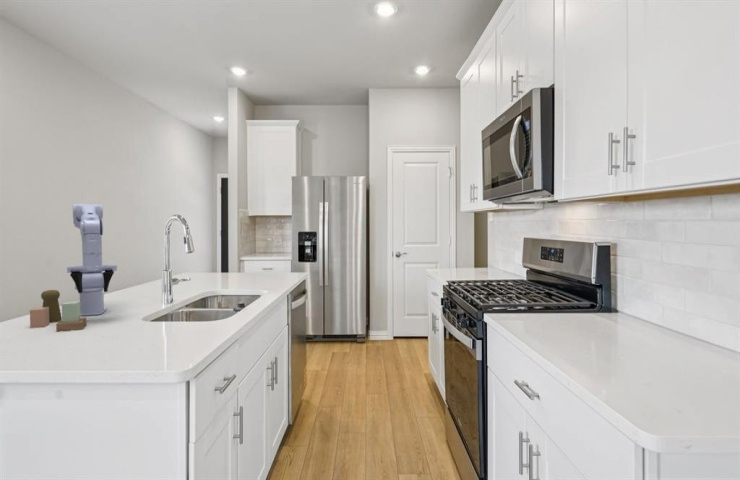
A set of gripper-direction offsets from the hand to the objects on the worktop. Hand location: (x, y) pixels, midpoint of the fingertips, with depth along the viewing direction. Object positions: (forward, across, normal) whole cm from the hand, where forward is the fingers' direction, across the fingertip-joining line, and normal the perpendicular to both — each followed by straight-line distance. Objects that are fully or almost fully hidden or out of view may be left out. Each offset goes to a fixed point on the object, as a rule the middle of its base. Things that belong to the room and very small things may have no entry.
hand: (93, 292), depth 145 cm
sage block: (+8, -4, -8) cm, 12 cm away
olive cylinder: (+10, -14, +6) cm, 18 cm away
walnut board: (+11, -4, -8) cm, 14 cm away
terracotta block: (+10, -15, -2) cm, 18 cm away
